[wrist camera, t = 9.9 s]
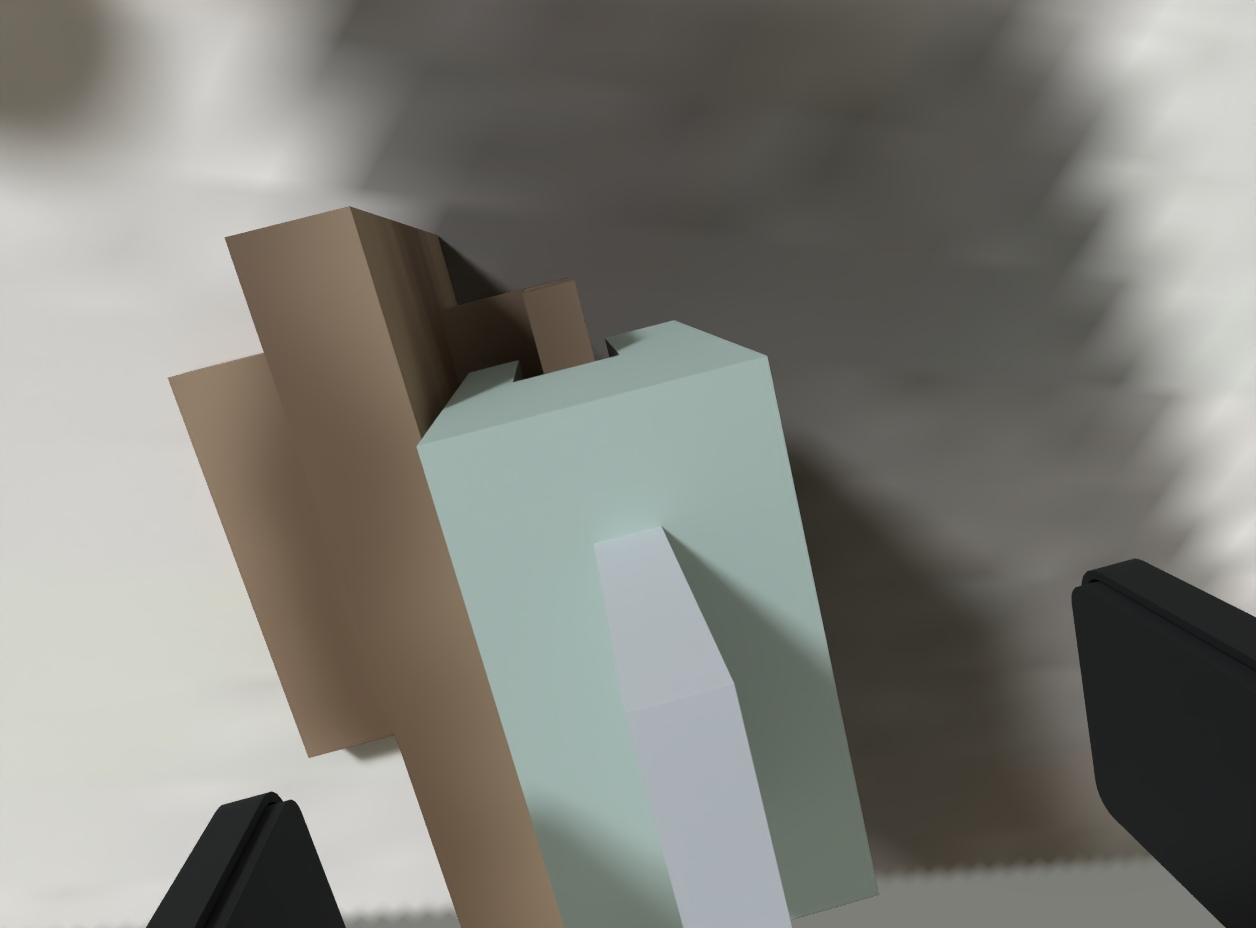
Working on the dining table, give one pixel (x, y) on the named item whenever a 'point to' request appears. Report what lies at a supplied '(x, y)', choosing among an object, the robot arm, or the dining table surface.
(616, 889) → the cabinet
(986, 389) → the dining table surface
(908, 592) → the dining table surface
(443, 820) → the brown boxy piece
